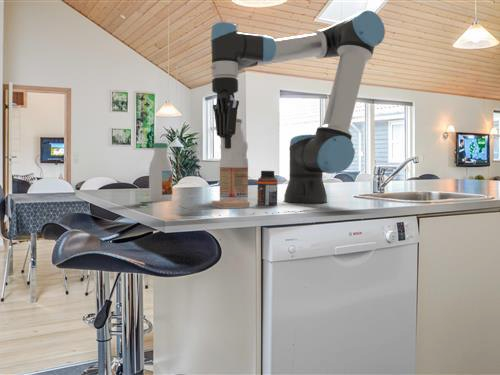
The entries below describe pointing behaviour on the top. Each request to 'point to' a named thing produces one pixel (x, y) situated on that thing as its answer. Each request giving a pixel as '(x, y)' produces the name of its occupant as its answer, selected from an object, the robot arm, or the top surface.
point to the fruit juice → (235, 169)
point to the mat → (203, 207)
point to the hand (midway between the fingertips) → (226, 159)
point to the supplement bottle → (267, 189)
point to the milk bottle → (160, 175)
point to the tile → (230, 204)
